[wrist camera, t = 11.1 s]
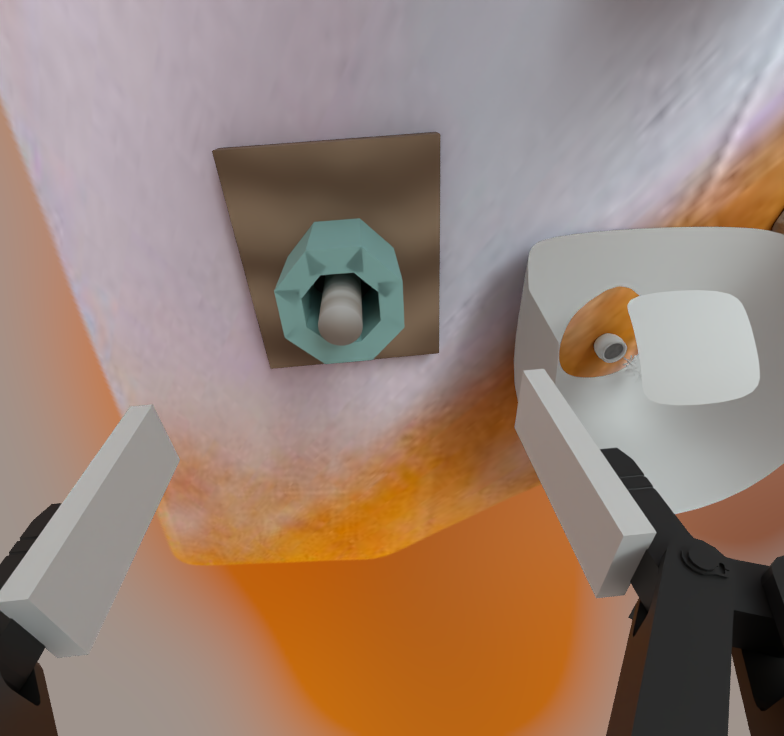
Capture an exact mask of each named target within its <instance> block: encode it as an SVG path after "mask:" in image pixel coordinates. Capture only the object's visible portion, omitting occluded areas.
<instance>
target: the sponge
mask: <svg viewBox="0 0 784 736" xmlns="http://www.w3.org/2000/svg"><path fill="white" fill-rule="evenodd" d="M772 232H776V233H780V234H783V235H784V211H783V212H782V214H781V215H780V217H779V218H778V219H777V221H776V222H775V224H774V225H773V229H772Z"/></svg>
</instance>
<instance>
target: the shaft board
mask: <svg viewBox="0 0 784 736" xmlns="http://www.w3.org/2000/svg"><path fill="white" fill-rule="evenodd" d="M212 153H213V157H214V160H215V164H216V168H217V171H218V175H219V179H220V182H221V186H222V190H223V194H224V197H225V201H226V205H227V208H228V212H229V216H230V220H231V223H232V227H233V231H234V234H235V238H236V242H237V245H238V249H239V253H240V257H241V260H242V264H243V268H244V271H245V275H246V279H247V283H248V286H249V290H250V294H251V297H252V301H253V305H254V308H255V312H256V316H257V320H258V323H259V327H260V331H261V334H262V338H263V342H264V346H265V349H266V353H267V357H268V360H269V364H270V368H271V369H273V368H284V367H294V366H305V365H316V364H324V363H323V362H321V361H320V360H318V359H317V358H315V357H314V356H312V355H310V354H309V353H307V352H306V351H304V350H303V349H301V348H300V347H298V346H297V345H295V344H293V343H292V342H290V341H289V340H287V339H286V338H285V336H284V332H283V328H282V324H281V319H280V315H279V311H278V306H277V302H276V298H275V293H274V290H275V288H276V285H277V282H278V280H279V277H280V275H281V272H282V270H283V267H284V265H285V262H286V260H287V257H288V256H289V254H290V253H291V252H292V250H293V249H294V248H295V246H296V245H297V244H298V242H299V241H300V240H301V239H302V237H303V236H304V235H305V233H306V232H307V231H308V229H309V228H310V227H311V225H312V224H313V223H314V222H319V221H331V220H344V219H357V218H360V219H361V220H362V221H364V222H365V223H366V224H367V225H368V226H369V227H370V228H372V229H373V230H374V231H375V232H376V233H377V234H378V235H380V236H381V237H382V238H383V239H384V240H385V241H387V242H388V243H389V244H390V245H391V246H392V247H393V248H394V251H395V254H396V258H397V262H398V265H399V269H400V273H401V276H402V280H403V302H404V325H405V327H404V328H403V329H402V330H401V332H400V333H399V334H398V335H397V336H396V337H395V338H394V339H393V340H392V341H391V342H390V343H389V344H388V345H387V346H386V347H385V348H384V349H383V350H382V351H381V352H380V353H379V354H378V355H377V356H376V357H375V358H374V359H381V358H391V357H402V356H413V355H424V354H435V353H439V265H440V134H439V133H437V132H430V133H417V134H403V135H390V136H376V137H363V138H349V139H336V140H322V141H309V142H296V143H282V144H269V145H255V146H242V147H228V148H218V149H215V150H213V151H212ZM314 288H316V289H317V290H318V291H320V292H321V293H322V301H321V307H320V314H319V321H318V329H319V332H320V334H321V336H322V337H323V338H324V339H325V340H326V341H327V342H329V343H331V344H334V345H339V346H343V345H348V344H351V343H353V342H354V341H356V340H357V339H358V338H359V337H360V335H361V333H362V329H363V321H362V298H363V296H364V295H365V294H366V293H367V292H368V291H369V290H370V289H371V286H370V285H369V284H367V283H366V282H365V281H364V280H362V279H361V278H360V277H359V276H357V275H356V274H355V273H354V272H353V273H341V274H329V275H320V276H319V278H318V279H317V280H316V281H315V283H314Z"/></svg>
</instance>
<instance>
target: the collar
mask: <svg viewBox="0 0 784 736" xmlns="http://www.w3.org/2000/svg"><path fill="white" fill-rule="evenodd" d="M353 272H354V273H355V274H356V275H357V276H359V277H360V278H361V279H362V280H364V281H365V282H366V283H367V284H369V285H370V286H371V289H370V290H369V291H368V292H367V293H366V294H365V295H364V296H363V298H362V321H363V329H362V333H361V335H360V337H359V338H358V339H357V340H356V341H354V342H353V343H351V344H348V345H343V346H339V345H334V344H331V343H329V342H327V341H326V340H325V339H324V338H323V337H322V336H321V334H320V332H319V329H318V321H319V314H320V307H321V301H322V293H321V292H320V291H318V290H317V289H316V288H314V283H315V281H316V280H317V279H318V278H319V276H320V275H329V274H341V273H353ZM274 293H275V298H276V302H277V306H278V311H279V315H280V319H281V324H282V328H283V332H284V336H285V338H286V339H287V340H289V341H290V342H292V343H293V344H295V345H297V346H298V347H300V348H301V349H303V350H304V351H306V352H307V353H309V354H310V355H312V356H314V357H315V358H317V359H318V360H320V361H321V362H323V363H324V364H332V363H343V362H354V361H365V360H373V359H374V358H375V357H376V356H377V355H378V354H379V353H380V352H381V351H382V350H383V349H384V348H385V347H386V346H387V345H388V344H389V343H390V342H391V341H392V340H393V339H394V338H395V337H396V336H397V335H398V334H399V333H400V332H401V330H402V329H403V328H404V327H405V325H404V302H403V280H402V276H401V273H400V269H399V265H398V262H397V258H396V254H395V251H394V248H393V247H392V246H391V245H390V244H389V243H388V242H387V241H385V240H384V239H383V238H382V237H381V236H380V235H378V234H377V233H376V232H375V231H374V230H373V229H372V228H370V227H369V226H368V225H367V224H366V223H365V222H364V221H362V220H361V219H360V218H357V219H344V220H331V221H319V222H314V223H313V224H312V225H311V227H310V228H309V229H308V231H307V232H306V233H305V235H304V236H303V237H302V239H301V240H300V241H299V242H298V244H297V245H296V246H295V248H294V249H293V250H292V252H291V253H290V254H289V256H288V257H287V260H286V262H285V265H284V267H283V270H282V272H281V275H280V277H279V280H278V282H277V285H276V288H275V290H274Z"/></svg>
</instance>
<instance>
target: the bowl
mask: <svg viewBox="0 0 784 736" xmlns="http://www.w3.org/2000/svg"><path fill="white" fill-rule="evenodd" d="M618 286H623V287H627V288H631V289H632V290H634V291H635V292H636V293H637V294H638V295H640V296H638V297H636V298H634V299H632V300H630V302H629V304H628V312H629V315H630V318H631V321H632V325H633V329H634V333H635V337H636V342H637V347H638V355H637V356H635V357H634V358H633V359H634V360H633V359H632V355H631V359H632V360H633V361H631V359H630V360H628V359H626V358H624V359H625V360H628V361H627V362H628V363H630V362H631V363H630V364H629V365H626V364H628V363H625V364H623V365H626V367H625V368H623V369H621V370H620V371H618V372H615V373H612V374H609V375H605V376H601V377H593V378H582V377H575V376H572V375H569V374H567V373H566V372H564V371H563V369H562V368H561V366H560V362H559V349H560V344H561V340H562V337H563V334H564V332H565V329H566V327H567V325H568V323H569V322H570V320H571V318H572V317H573V316H574V315H575V313H576V312H577V311H578V310H579V309H581V308H582V307H583V306H584V305H585V304H586V303H587V302H589V301H590V300H592V299H593V298H595V297H596V296H598V295H599V294H601V293H602V292H604V291H606V290H608V289H611V288H614V287H618ZM594 350H595V352H596V354H597V355H598V357H599V358H601V359H603V361H605V362H608V363H612V362H616V361H618V360H620V359H621V358H622V357H623V356H624V355H625V353H626V351H627V346H626V344H625V343H624V342H623V340H622V339H621V338H620V337H618V336H617V335H614V334H610V333H607V334H603V335H601V336H600V337H598V338H597V339H596V341H595V343H594ZM629 361H630V362H629ZM535 369H545V371H546V372H547V374H548V375H549V377H550V378H551V380H552V381H553V382H554V384H555V385H556V387H557V388H558V390H559V391H560V393H561V394H562V396H563V397H564V398H565V400H566V401H567V403H568V404H569V406H570V407H571V409H572V410H573V412H574V413H575V414H576V416H577V417H578V419H579V420H580V422H581V423H582V425H583V426H584V428H585V429H586V430H587V432H588V433H589V435H590V436H591V438H592V439H593V441H594V442H595V443H596V445H597V446H598V448H599V449H606V448H618V449H620V450H621V451H622V452H624V453H625V454H626V455H628V456H629V457H630V458H632V459H633V460H634V461H635V463H636V464H637V465H638V467H639V468H640V469H641V471H642V472H643V473H644V476H645V477H647V478H648V480H649V481H650V482H651V484H652V485H653V488H654V489H656V490H657V492H658V493H659V494H660V496H661V497H662V498H663V500H664V501H665V502H666V503H667V505H668V506H669V507H670V509H671V510H672V511H673V513H674V514H677V513H681V512H686V511H690V510H694V509H698V508H701V507H703V506H707V505H709V504H712V503H715V502H718V501H721V500H723V499H725V498H728V497H730V496H732V495H734V494H736V493H739V492H741V491H743V490H745V489H747V488H748V487H750V486H752V485H753V484H755V483H756V482H758V481H759V480H761V479H763V478H765V477H766V476H768V475H769V474H770V473H772V472H773V471H774V470H776V469H777V468H778V467H779V466H781V465H782V464H783V463H784V235H783V234H780V233H776V232H772V231H768V230H761V229H753V228H736V227H671V228H645V229H628V230H612V231H600V232H589V233H580V234H572V235H565V236H558V237H554V238H549V239H545V240H543V241H540V242H538V243H536V244H535V245H534V246H533V247H532V248H531V250H530V253H529V257H528V262H527V268H526V274H525V280H524V285H523V291H522V298H521V304H520V311H519V317H518V324H517V332H516V340H515V353H514V381H515V389H516V394H517V399H518V401H519V394H520V388H521V381H522V374H523V371H524V370H535Z"/></svg>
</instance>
